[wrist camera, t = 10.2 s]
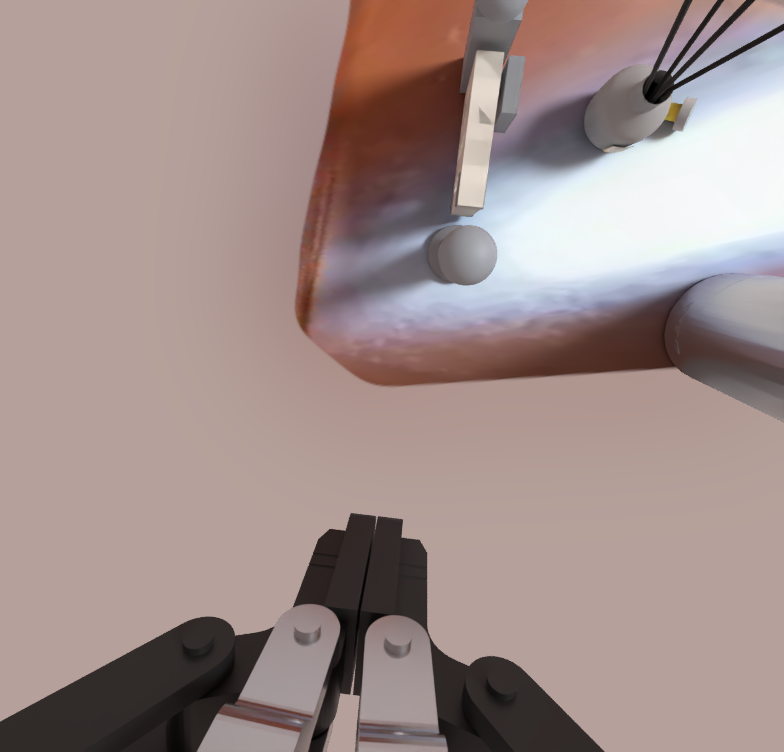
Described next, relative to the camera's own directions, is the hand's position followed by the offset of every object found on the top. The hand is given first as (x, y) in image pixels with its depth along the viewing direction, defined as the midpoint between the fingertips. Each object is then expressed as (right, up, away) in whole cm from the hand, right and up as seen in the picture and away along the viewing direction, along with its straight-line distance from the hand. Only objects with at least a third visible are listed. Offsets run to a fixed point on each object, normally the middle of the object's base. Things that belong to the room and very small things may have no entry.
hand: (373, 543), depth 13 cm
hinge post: (+6, +15, +26) cm, 30 cm away
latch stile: (+7, +26, +22) cm, 35 cm away
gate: (+7, +22, +23) cm, 32 cm away
